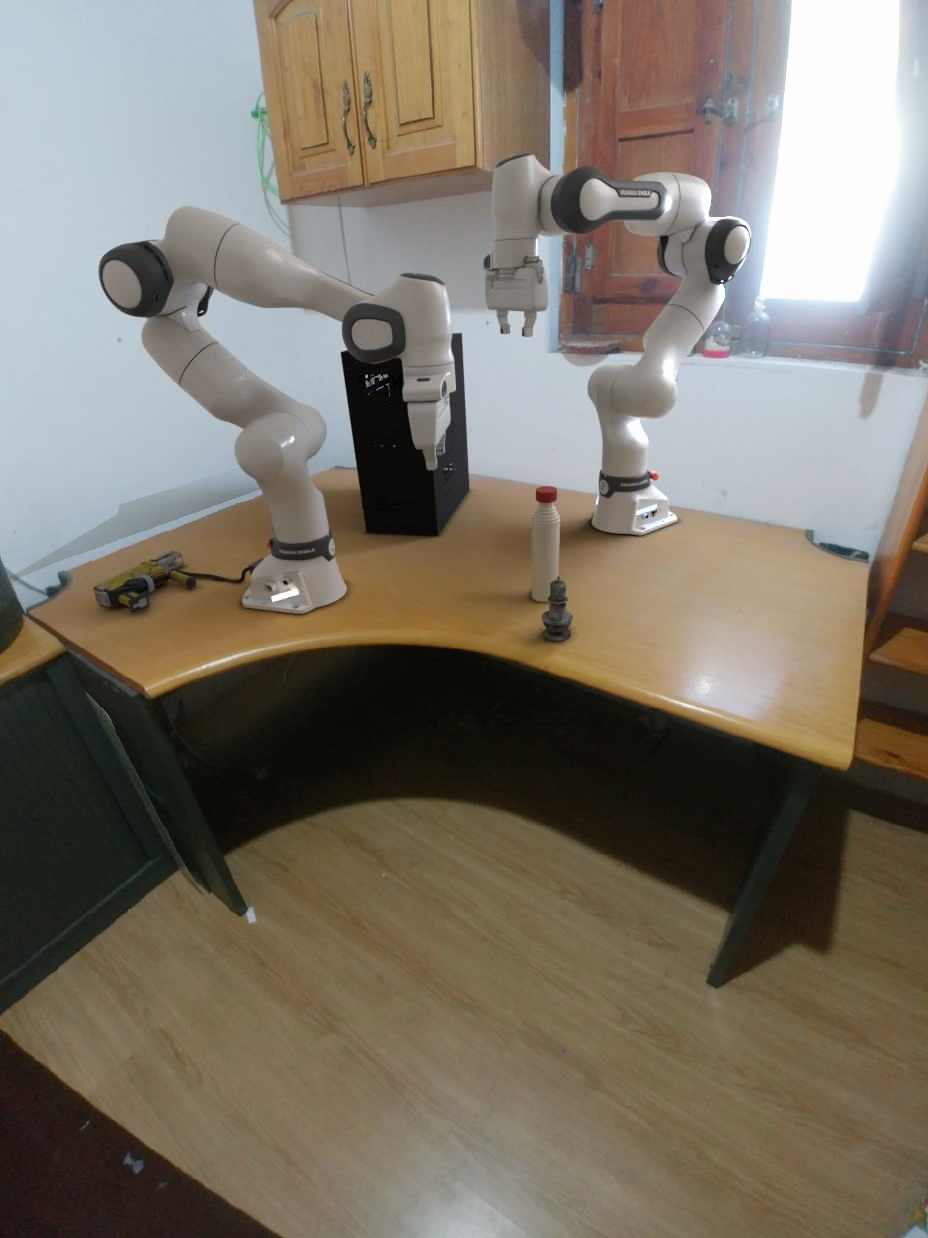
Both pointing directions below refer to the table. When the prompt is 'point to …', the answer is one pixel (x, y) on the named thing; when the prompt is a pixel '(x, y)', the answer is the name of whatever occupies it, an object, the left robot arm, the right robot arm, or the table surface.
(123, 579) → the toy gun
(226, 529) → the table surface
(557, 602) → the grey stepped cylinder
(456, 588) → the table surface
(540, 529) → the bottle
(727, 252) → the right robot arm
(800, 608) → the table surface
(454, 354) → the black tall box
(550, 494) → the cap
